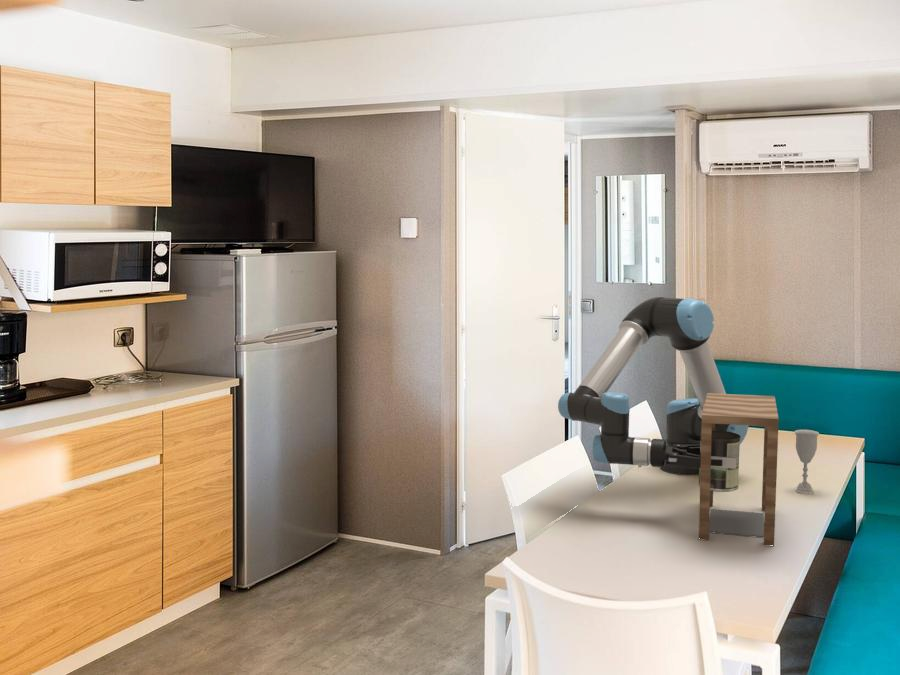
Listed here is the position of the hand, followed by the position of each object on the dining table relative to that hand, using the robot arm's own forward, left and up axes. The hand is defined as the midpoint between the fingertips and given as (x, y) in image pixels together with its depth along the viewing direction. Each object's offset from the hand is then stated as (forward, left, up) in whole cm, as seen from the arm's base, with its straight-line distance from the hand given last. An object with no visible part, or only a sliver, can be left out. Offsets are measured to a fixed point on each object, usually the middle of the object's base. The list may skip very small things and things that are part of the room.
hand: (736, 458), depth 239 cm
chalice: (-38, +20, -18) cm, 46 cm away
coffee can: (0, -4, -8) cm, 9 cm away
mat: (-1, +1, -18) cm, 18 cm away
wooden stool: (-1, +1, -18) cm, 18 cm away
